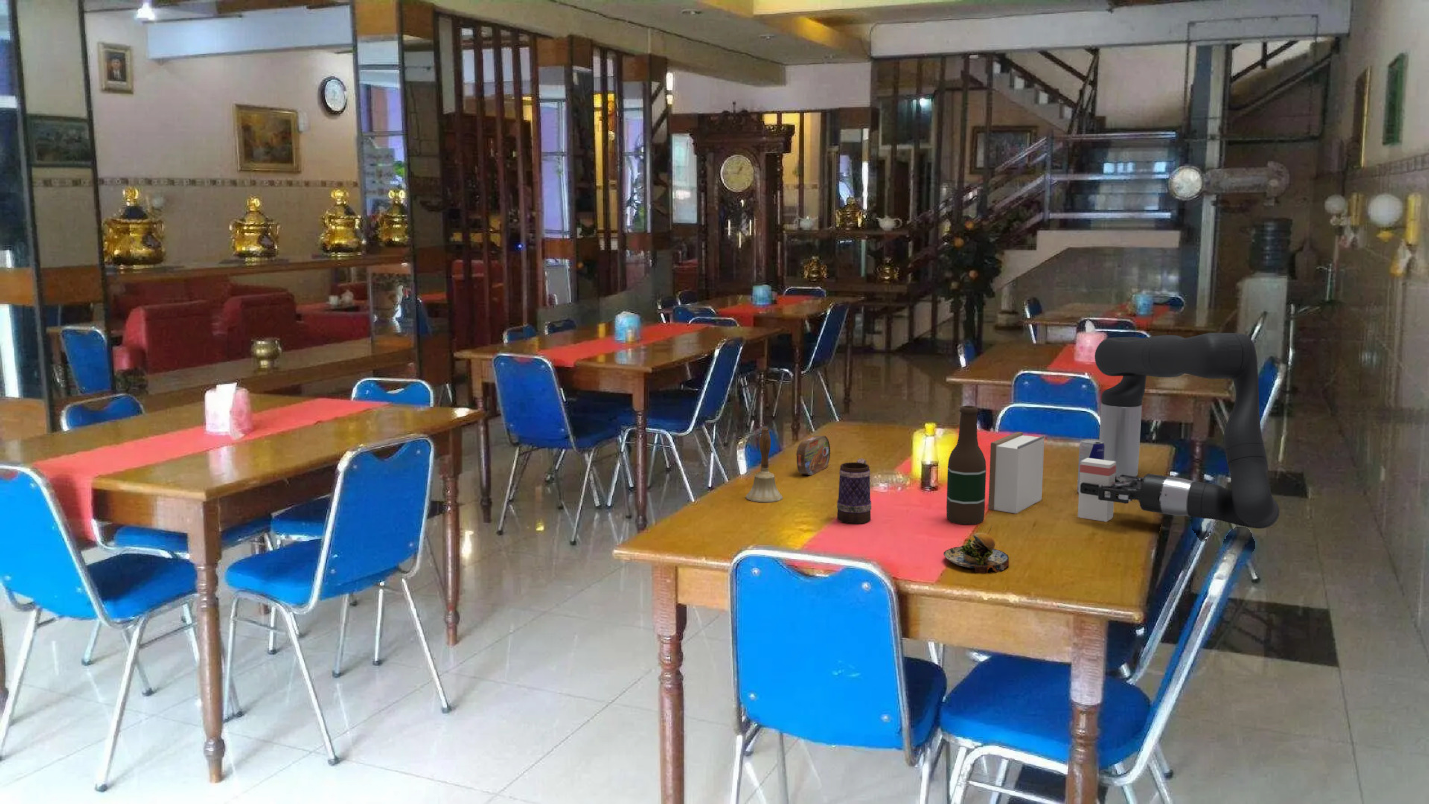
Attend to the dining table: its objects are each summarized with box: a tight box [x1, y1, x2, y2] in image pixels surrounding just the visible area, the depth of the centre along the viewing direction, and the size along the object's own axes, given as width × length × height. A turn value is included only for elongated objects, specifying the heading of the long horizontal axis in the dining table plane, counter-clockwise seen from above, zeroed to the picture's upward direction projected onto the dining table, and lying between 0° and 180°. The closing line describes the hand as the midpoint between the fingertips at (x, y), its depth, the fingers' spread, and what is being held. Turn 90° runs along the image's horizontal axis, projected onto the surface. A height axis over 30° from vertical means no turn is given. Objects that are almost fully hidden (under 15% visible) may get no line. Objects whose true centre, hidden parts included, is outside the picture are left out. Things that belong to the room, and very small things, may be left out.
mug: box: [836, 457, 872, 525], centre depth 237 cm, size 10×7×12 cm
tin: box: [795, 435, 831, 476], centre depth 279 cm, size 15×3×8 cm, turn 150°
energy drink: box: [1077, 438, 1105, 494], centre depth 256 cm, size 5×5×12 cm
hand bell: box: [745, 427, 783, 503], centre depth 253 cm, size 8×8×16 cm
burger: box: [943, 525, 1010, 574], centre depth 207 cm, size 12×12×8 cm
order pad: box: [987, 431, 1045, 514], centre depth 247 cm, size 14×6×15 cm, turn 142°
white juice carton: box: [1077, 458, 1116, 523], centre depth 236 cm, size 4×6×12 cm
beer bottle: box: [946, 405, 987, 526], centre depth 234 cm, size 8×8×24 cm
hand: (1088, 483), depth 237 cm, fingers open, 8 cm apart
